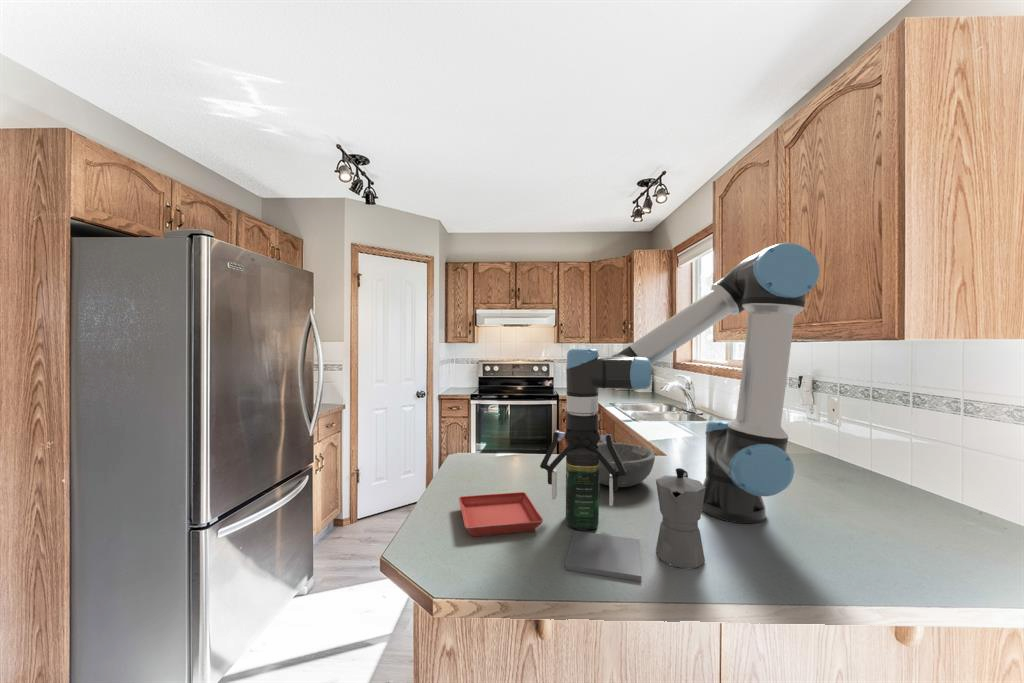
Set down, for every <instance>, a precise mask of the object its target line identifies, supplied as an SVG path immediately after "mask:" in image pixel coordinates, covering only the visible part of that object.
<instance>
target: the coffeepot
mask: <svg viewBox="0 0 1024 683" xmlns="http://www.w3.org/2000/svg"><path fill="white" fill-rule="evenodd" d="M675 473H676V475H664V476H660V477H659V478H657V479H655V482H656V483H655V484H656V490H657V498H658V503H659V511H660V514H661V516H662V520H661V522H660V526H659V531H658V535H657V542H656V547H655V551H656V553H657V556H658V558H659V559H660V560H661V561H663V563H665V562H666V564H667V563H668V565H669V564H671V565H670V566H672V565H673V566H672V567H675V566H676V567H675V568H678V567H679V568H680V569H684V568H693V569H698V568H700V567H702V565H703V564H704V563H705V562H706V559H705V558H706V557H705V553H704V547H703V541H702V535H701V529H700V528H699V525H698V524H699V521H700V520H701V519H702V512H703V511H702V506H703V500H704V495H705V489H706V487H705V486H704V485H703V483H702V482H701V481H700V480H697V479H693V478H690V477H689V474H688V472H687V471H686V470H685V469H684V468H680V467H678V468H675ZM699 566H700V567H699ZM697 567H698V568H697Z"/></svg>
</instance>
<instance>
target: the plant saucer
mask: <svg viewBox="0 0 1024 683" xmlns="http://www.w3.org/2000/svg"><path fill="white" fill-rule="evenodd" d="M458 501H459V502H458V503H459V506H460V510H461V515H462V519H463V525H464V528H465V530H466V531H467V532H468V533H469V534H470V535H471V536H473V537H480V536H482V537H483V536H491V535H500V534H501V535H502V534H510V533H521V532H531V531H534V530H536V529H537V528H538V527H539V526H540V525H541V524H542V523H543V522H544V518H543V517H542V516H541V515H540V512H539V511H538V510H537V508H536V507H535V505H534V504H533V502H532V501H531V499H530V498H529V496H528V494H527V493H526V492H525V491H521V492H520V491H519V492H506V493H494V494H493V493H492V494H491V493H488V494H477V495H464V496H463V495H461V496H459V497H458Z"/></svg>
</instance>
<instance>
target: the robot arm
mask: <svg viewBox="0 0 1024 683" xmlns="http://www.w3.org/2000/svg"><path fill="white" fill-rule="evenodd" d="M820 272H821V271H820V264H819V261H818V260H817V258H816V255H815V254H813V253H812V252H811V251H810V250H809V249H808V248H806V247H805V246H803V245H801V244H796V243H793V242H783V243H777V244H773V245H770V246H769V245H768V246H766V247H765V248H763V249H761V250H760V251H759V252H756V253H755V254H752V255H750V256H748V257H747V258H745V259H743V260H742V261H741V262H740V263H738V264H737V265H736V266H735V267H734V268H732V269H731V270H730V271H729V272H728V273H726V274H725V275H723V277H722V278H720V279H719V280H717V281H715V283H713V284H712V285H711V287H710V291H708V292H707V293H705V294H704V295H703V296H701V297H699V298H698V299H696V300H694V301H693V302H692V303H690V304H689V305H688V306H686V307H685V308H683V309H681V310H680V311H679V312H677V313H675V314H674V315H672V317H670V318H668V319H667V320H665V321H664V322H663V323H661V324H659V325H658V326H657V327H655V328H654V329H652V330H650V331H648V333H646V334H644V335H643V336H641V337H640V338H639V339H637V340H636V341H635V342H633V343H631V344H629V345H628V346H627V347H626V348H624V349H622V350H621V351H620V352H618V353H615V354H613V355H611V356H610V357H607V356H606V357H605V356H600V354H599V351H598V349H597V348H571V349H569V350H568V352H567V353H566V367H565V368H566V411H567V413H566V430H565V432H563V431H560V430H558V429H555V431H554V432H553V434H552V435H553V436H552V441H551V443H550V445H549V447H548V449H547V451H546V453H545V455H544V457H543V459H542V461H541V463H540V465H539V468H540V469H542V470H545V471H546V472H547V484H548V485H551V500H552V501H553V500H556V498H557V496H558V482H557V480H558V474H557V473H558V472H557V471H558V470H557V469H555V468H556V467H557V466H558V465H559V464H560V463H561V461H563V459H564V458H566V453H567V452H569V451H571V450H572V449H575V448H578V447H586V448H588V449H590V450H591V451H593V452H595V453H597V454H598V455H599V460H600V461H601V463H602V464H603V465H604V466H605V467H606V469H607V470H608V471H609V472H610V477H609V486H608V488H609V493H608V494H609V500H608V501H609V507H610V506H611V507H614V506H613V505H614V492H618V489H619V487H618V477H619V476H625V475H626V469H625V467H624V465H623V463H622V461H621V459H620V457H619V455H618V453H617V451H616V449H615V447H614V445H613V443H614V442H613V435H612V434H611V433H610V432H607V434H600V432H599V415H598V413H597V412H598V411H599V389H602V390H603V389H614V390H615V389H617V390H618V389H620V390H634V391H637V390H648V389H649V388H650V386H651V384H652V376H653V375H652V373H653V372H652V371H653V370H652V366H653V365H654V364H656V363H658V362H659V361H661V360H662V359H664V358H665V357H667V356H668V355H670V354H671V353H673V352H675V351H676V350H677V349H679V348H680V347H682V346H684V345H685V344H687V343H688V342H690V341H692V340H693V339H695V338H696V337H698V336H699V335H701V334H702V333H703V332H705V331H706V330H709V329H710V328H711V327H713V326H714V325H716V324H718V323H719V322H720V321H722V320H724V319H725V318H727V317H728V316H730V315H732V316H733V315H734V316H737V315H738V314H740V313H742V312H743V311H746V312H747V314H748V317H747V318H748V319H747V326H746V334H745V342H744V350H743V359H742V366H741V374H740V375H741V376H740V384H739V391H738V392H739V393H738V398H737V399H738V400H737V409H736V415H735V416H736V417H735V419H733V420H721V419H720V420H719V419H718V420H710V421H708V422H707V423H706V427H705V428H706V429H705V432H704V435H705V478H704V480H703V483H702V484H703V485H704V486H705V487H706V489H705V495H704V500H703V506H702V512H703V513H705V514H707V515H709V516H710V517H711V516H712V517H714V518H716V519H719V520H723V521H727V522H731V523H739V524H756V523H760V522H762V521H764V520H765V519H766V505H765V503H764V500H763V497H771V496H775V495H778V494H779V493H781V492H783V491H785V490H786V489H787V488H788V487H790V485H791V484H792V482H793V479H794V476H795V467H794V462H793V461H792V458H791V457H790V455H789V454H788V452H787V448H788V440H789V434H788V433H787V432H786V431H785V430H784V429H783V428H782V419H783V412H784V403H785V396H786V395H785V394H786V386H787V380H788V372H789V363H790V355H791V347H792V338H793V331H794V325H795V324H794V323H795V318H796V316H798V314H800V313H802V311H804V310H805V307H806V306H805V305H806V297H807V293H808V292H810V291H811V290H812V289H813V288H814V287H815V285H817V282H818V281H819V277H820ZM563 439H565V440H566V442H567V444H566V446H565V447H564V448H563V449H562V450H561V452H559V454H558V455H557V456H556V457H555V459H553V461H552V462H551V463H549V461H550V459H551V456H553V453H554V450H555V448H556V447H557V445H558V443H559V442H561V441H562V440H563ZM600 441H602V443H604V444H607V447H608V449H609V451H610V453H611V456H612V458H613V460H614V462H615V464H616V466H617V468H618V470H617V469H616V468H615V467H614V466H613V465H612V463H611V462H610V461H609V460H608V458H607V457H606V456H605V455H604V453H603V452H602V451H601V450H600V448H599V447H598V445H597V443H599V442H600Z"/></svg>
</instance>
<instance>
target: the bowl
mask: <svg viewBox="0 0 1024 683" xmlns="http://www.w3.org/2000/svg"><path fill="white" fill-rule="evenodd" d="M612 443H613V445H614V447H615V449H616V451H617V453H618V455H619V457H620V459H621V461H622V463H623V465H624V467H625V469H626V475H625V476H619V477H618V488H629V487H633V486H637V484H640V483H641V482H643V481H644V480H645V479H646V478H648V476H649V475H650V474H651V472H652V470H653V467H654V463H655V459H656V456H655V453H654V451H653V450H652V449H650V448H649V447H646V446H641V445H638V444H629V443H623V442H612ZM597 445H598V447H599V448H600V450H601V451H602V452H603V453H604V455H605V456H606V457H607V458H608V460H609V461H610V462H611V463H612V465H613V466H614V467H615V468H616V469H617V470H618V468H617V466H616V464H615V462H614V460H613V458H612V456H611V453H610V451H609V449H608V447H607V444H604V443H603V442H600V443H599V442H598V443H597ZM609 477H610V472H609V471H608V470H607V469H606V467H605V466H604V465H603V464H602V463H601V461H600V460H599V484H600V485H601V484H602V485H604V486H608V487H609Z"/></svg>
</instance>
